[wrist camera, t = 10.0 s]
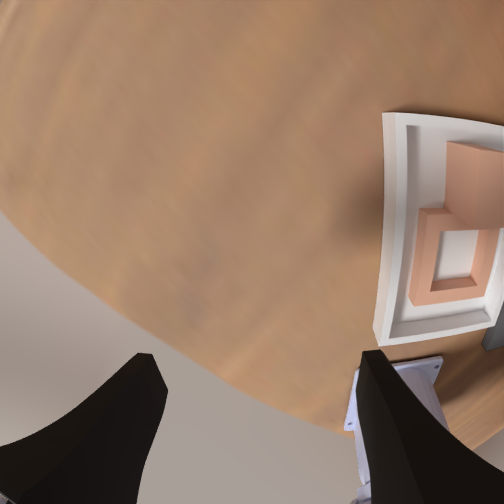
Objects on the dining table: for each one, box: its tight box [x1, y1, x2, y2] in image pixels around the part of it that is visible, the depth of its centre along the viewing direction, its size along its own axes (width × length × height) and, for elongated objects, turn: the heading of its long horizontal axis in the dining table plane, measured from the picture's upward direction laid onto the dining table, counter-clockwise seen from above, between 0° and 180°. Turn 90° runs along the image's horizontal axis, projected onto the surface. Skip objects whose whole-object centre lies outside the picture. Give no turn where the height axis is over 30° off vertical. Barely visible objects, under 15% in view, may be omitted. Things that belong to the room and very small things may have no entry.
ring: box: [408, 141, 504, 306], centre depth 14 cm, size 10×6×4 cm, turn 6°
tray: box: [373, 112, 504, 346], centre depth 15 cm, size 14×10×2 cm
